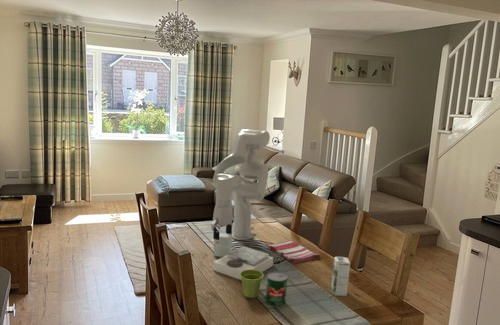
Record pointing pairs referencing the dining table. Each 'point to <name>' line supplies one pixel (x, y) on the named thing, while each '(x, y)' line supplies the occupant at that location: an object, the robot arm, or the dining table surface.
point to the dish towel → (293, 252)
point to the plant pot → (251, 282)
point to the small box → (222, 245)
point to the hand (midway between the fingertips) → (222, 236)
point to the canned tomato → (276, 289)
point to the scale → (239, 266)
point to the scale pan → (248, 255)
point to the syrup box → (340, 276)
